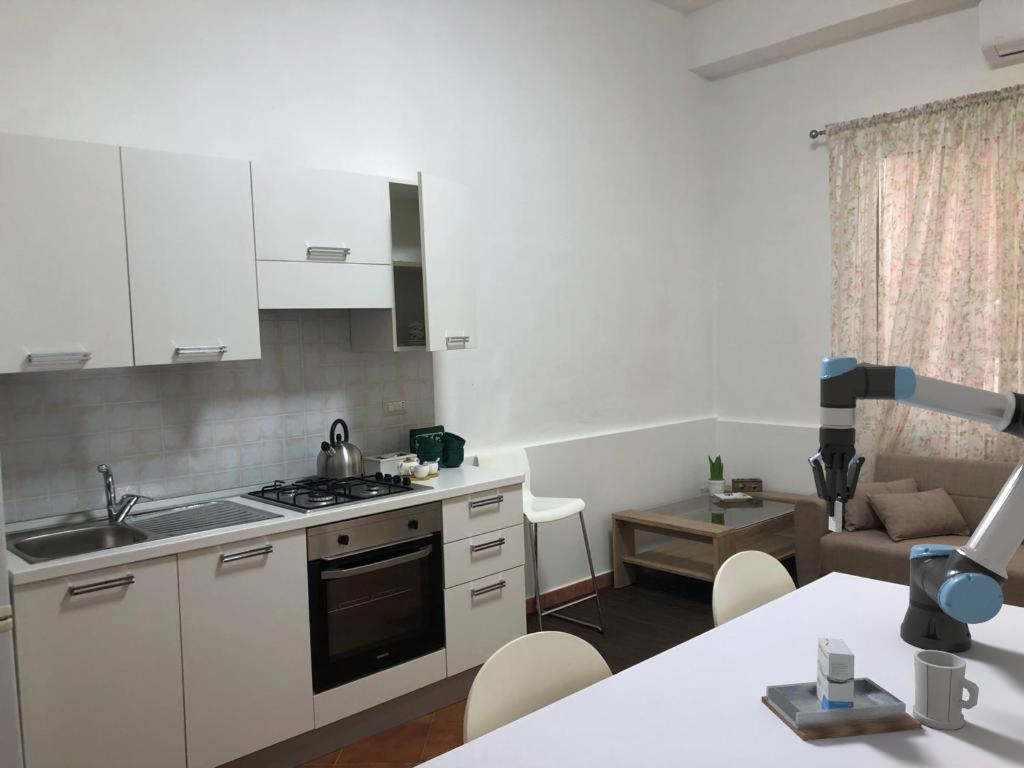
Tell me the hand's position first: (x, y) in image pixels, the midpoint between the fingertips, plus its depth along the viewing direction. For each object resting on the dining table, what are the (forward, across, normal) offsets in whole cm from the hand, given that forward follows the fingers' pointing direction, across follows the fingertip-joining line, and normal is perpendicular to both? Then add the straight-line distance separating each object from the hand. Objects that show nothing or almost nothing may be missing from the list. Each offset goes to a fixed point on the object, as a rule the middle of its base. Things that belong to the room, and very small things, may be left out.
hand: (835, 530), depth 184 cm
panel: (+29, +14, +25) cm, 41 cm away
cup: (+30, -4, +31) cm, 43 cm away
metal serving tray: (+29, +15, +25) cm, 41 cm away
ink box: (+28, +15, +25) cm, 40 cm away
